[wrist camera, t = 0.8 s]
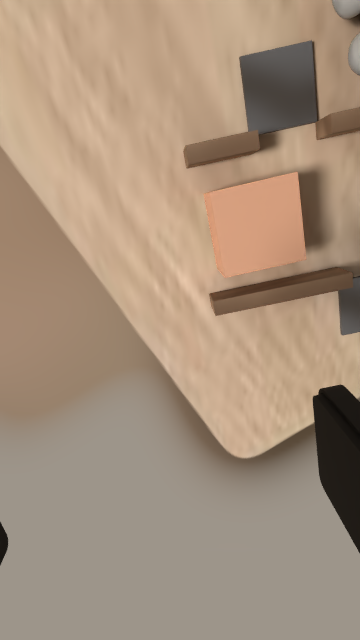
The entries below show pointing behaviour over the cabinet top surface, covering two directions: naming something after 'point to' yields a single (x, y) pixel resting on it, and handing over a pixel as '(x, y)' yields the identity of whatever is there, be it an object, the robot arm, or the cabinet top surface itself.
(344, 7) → the toy rhinoceros
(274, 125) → the trap lane
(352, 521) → the robot arm
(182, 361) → the cabinet top surface
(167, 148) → the cabinet top surface
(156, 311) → the cabinet top surface
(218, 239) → the salmon block
